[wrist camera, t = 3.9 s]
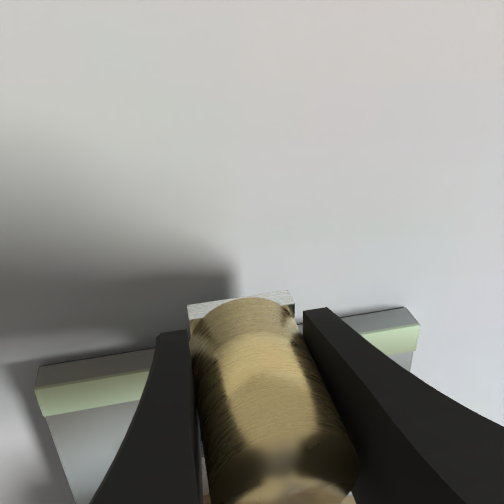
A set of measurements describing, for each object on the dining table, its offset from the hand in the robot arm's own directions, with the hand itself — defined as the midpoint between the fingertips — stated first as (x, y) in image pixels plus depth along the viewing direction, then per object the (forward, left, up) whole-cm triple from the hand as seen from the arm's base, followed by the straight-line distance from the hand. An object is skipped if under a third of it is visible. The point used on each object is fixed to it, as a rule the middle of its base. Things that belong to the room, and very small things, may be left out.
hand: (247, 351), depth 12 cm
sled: (-5, 0, -1) cm, 5 cm away
